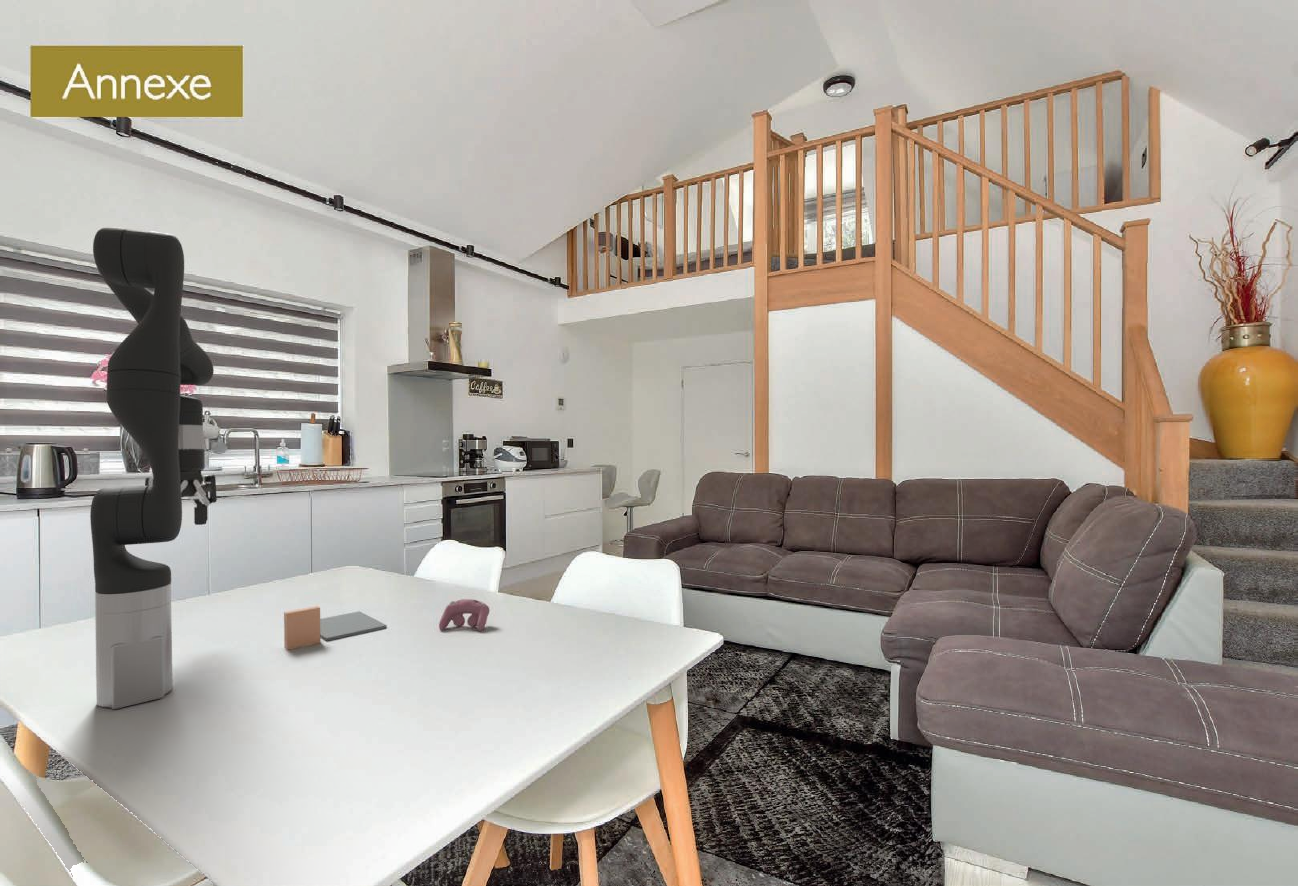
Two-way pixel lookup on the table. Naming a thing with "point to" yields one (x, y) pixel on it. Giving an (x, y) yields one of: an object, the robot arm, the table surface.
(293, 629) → the tile
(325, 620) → the mat
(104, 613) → the robot arm
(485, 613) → the video game controller
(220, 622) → the table surface
